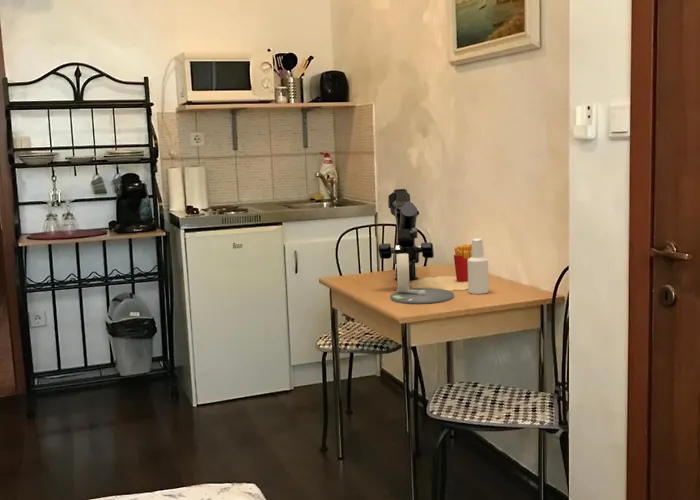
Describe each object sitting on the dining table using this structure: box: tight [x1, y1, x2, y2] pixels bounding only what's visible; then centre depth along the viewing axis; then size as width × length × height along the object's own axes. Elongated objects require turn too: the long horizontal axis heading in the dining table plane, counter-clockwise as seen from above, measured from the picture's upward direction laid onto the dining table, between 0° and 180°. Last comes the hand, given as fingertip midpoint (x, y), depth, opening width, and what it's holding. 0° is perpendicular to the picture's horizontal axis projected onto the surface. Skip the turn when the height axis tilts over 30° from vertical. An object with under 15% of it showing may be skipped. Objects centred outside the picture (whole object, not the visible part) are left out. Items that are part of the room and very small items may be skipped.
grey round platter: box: [390, 287, 455, 305], centre depth 258 cm, size 21×21×2 cm
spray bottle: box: [467, 237, 490, 295], centre depth 261 cm, size 7×7×18 cm
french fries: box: [453, 243, 472, 283], centre depth 282 cm, size 9×4×13 cm, turn 112°
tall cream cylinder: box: [395, 254, 418, 293], centre depth 260 cm, size 8×4×13 cm, turn 55°
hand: (404, 270), depth 266 cm, fingers closed
